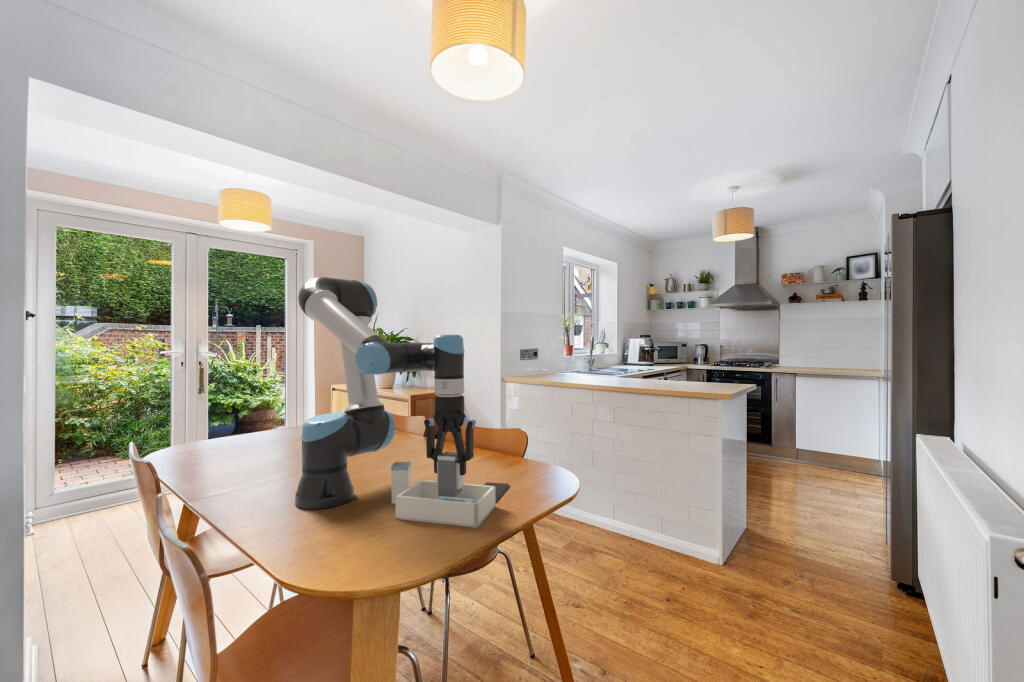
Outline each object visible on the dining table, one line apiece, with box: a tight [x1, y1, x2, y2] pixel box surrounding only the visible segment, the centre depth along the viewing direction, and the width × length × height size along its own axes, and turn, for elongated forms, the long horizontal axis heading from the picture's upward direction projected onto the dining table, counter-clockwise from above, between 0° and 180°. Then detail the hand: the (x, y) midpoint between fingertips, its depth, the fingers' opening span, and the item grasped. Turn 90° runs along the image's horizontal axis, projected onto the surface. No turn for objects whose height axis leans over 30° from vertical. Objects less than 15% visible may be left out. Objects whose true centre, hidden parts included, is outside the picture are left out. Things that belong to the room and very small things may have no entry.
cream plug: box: [390, 461, 412, 504], centre depth 121 cm, size 5×5×10 cm
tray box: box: [395, 479, 497, 529], centre depth 112 cm, size 22×14×6 cm, turn 74°
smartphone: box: [483, 482, 510, 504], centre depth 127 cm, size 8×1×16 cm
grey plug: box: [438, 451, 462, 497], centre depth 111 cm, size 5×5×10 cm
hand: (450, 486), depth 112 cm, fingers closed on grey plug, 4 cm apart
